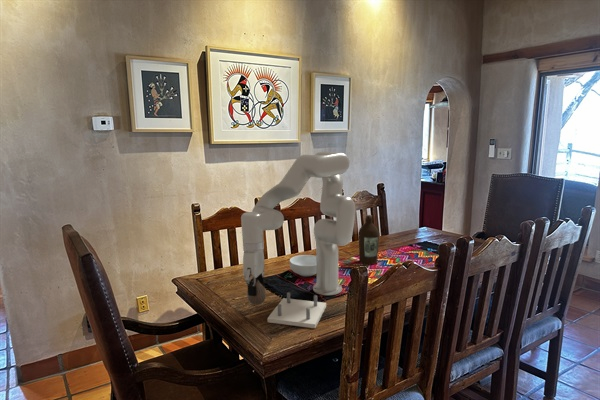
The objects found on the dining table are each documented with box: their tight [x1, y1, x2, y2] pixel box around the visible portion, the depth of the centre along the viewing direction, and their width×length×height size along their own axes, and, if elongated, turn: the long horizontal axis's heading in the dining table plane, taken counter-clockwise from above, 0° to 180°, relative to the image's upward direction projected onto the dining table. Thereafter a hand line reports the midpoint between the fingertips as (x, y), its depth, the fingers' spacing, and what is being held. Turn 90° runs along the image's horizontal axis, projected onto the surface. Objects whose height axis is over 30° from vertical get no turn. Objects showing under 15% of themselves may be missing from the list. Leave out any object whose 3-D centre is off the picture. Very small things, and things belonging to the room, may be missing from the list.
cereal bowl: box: [289, 254, 317, 277], centre depth 191 cm, size 17×17×7 cm
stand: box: [267, 291, 327, 329], centre depth 150 cm, size 18×18×6 cm
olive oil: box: [358, 214, 380, 266], centre depth 205 cm, size 11×11×25 cm
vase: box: [246, 280, 267, 306], centre depth 148 cm, size 7×7×9 cm
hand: (256, 290), depth 147 cm, fingers closed on vase, 6 cm apart
